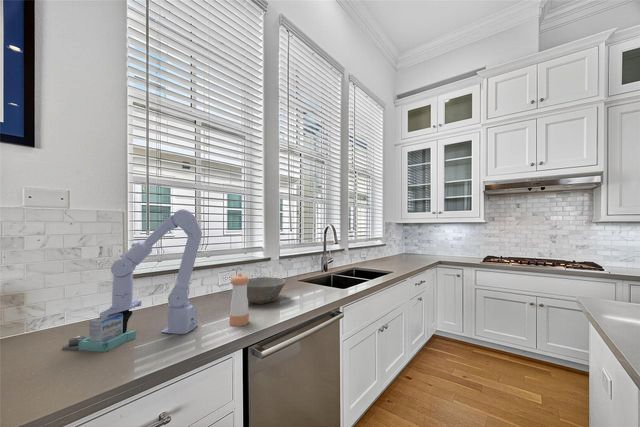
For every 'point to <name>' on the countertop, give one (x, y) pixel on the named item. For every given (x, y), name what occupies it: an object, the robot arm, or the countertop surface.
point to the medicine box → (106, 328)
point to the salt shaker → (239, 301)
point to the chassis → (87, 345)
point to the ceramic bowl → (264, 289)
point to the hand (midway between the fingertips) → (121, 333)
